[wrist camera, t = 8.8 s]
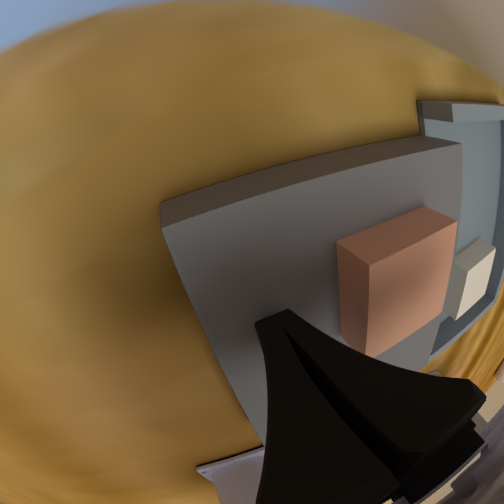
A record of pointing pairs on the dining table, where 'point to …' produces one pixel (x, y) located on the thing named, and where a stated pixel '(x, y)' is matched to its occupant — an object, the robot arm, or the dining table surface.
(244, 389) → the plate
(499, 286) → the tray
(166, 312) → the dining table surface
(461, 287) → the cream tile
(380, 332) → the terracotta tile
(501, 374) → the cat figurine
